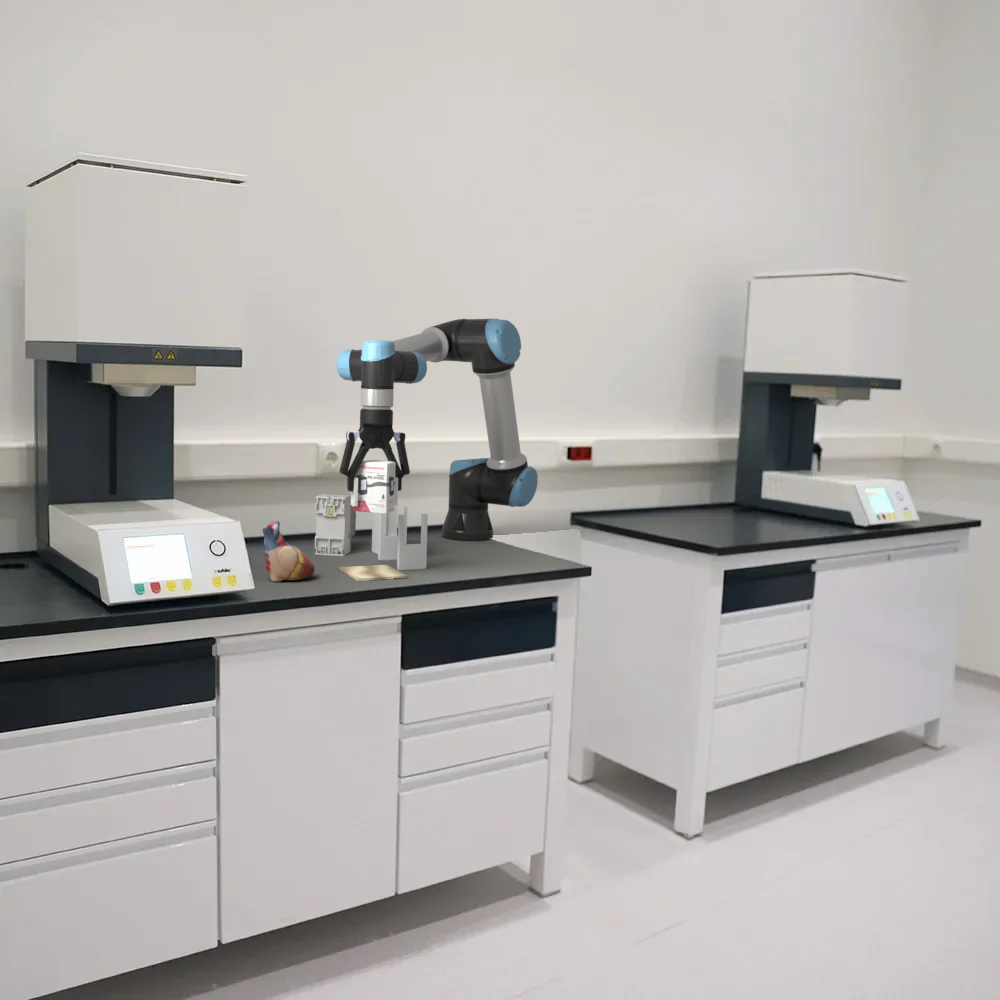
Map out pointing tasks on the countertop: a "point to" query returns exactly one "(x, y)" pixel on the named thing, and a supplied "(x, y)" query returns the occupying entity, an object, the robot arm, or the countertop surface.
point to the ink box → (376, 486)
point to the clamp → (398, 540)
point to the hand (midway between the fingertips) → (374, 505)
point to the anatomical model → (284, 557)
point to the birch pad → (372, 572)
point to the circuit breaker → (334, 524)
